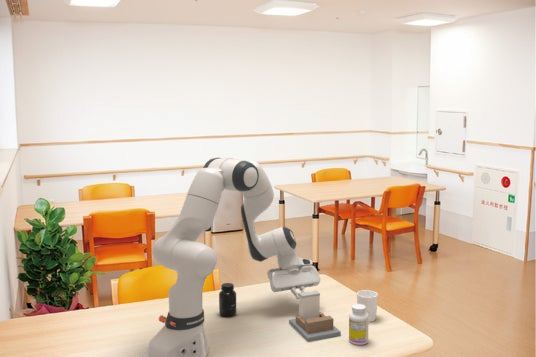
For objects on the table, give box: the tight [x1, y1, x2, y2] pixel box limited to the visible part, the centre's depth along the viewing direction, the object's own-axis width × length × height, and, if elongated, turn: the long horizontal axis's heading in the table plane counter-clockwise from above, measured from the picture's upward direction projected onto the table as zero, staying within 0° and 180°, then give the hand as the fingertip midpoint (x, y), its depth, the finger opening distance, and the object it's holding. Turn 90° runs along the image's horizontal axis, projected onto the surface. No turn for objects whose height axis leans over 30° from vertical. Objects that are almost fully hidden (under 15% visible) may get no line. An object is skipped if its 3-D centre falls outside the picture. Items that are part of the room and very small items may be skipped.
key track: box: [288, 311, 342, 343], centre depth 196 cm, size 16×13×6 cm
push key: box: [298, 290, 321, 321], centre depth 200 cm, size 3×7×11 cm, turn 111°
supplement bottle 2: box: [348, 303, 369, 346], centre depth 186 cm, size 7×7×13 cm
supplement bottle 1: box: [218, 282, 237, 318], centre depth 211 cm, size 7×7×12 cm
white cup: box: [356, 289, 379, 323], centre depth 205 cm, size 8×8×10 cm
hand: (300, 298), depth 207 cm, fingers closed
